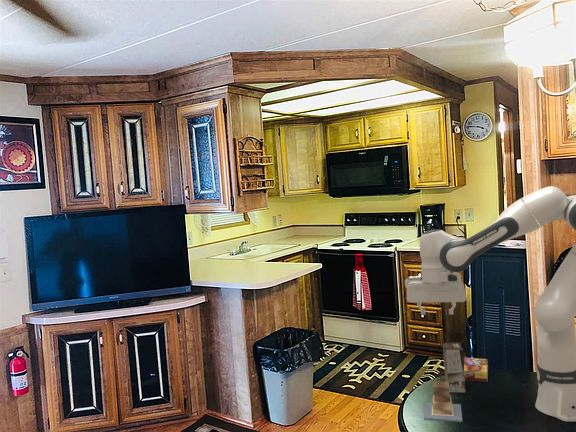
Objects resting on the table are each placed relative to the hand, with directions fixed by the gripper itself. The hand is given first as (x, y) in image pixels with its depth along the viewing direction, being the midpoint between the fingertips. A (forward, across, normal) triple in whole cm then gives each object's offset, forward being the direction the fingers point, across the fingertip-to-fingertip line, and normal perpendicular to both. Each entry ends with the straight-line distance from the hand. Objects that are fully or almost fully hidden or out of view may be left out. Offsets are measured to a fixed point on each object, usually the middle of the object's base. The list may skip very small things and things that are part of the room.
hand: (437, 314), depth 172 cm
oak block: (+31, 0, -9) cm, 32 cm away
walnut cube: (+27, 0, -9) cm, 28 cm away
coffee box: (+32, +5, +13) cm, 34 cm away
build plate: (+31, 0, -9) cm, 33 cm away
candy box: (+29, +12, +19) cm, 37 cm away
